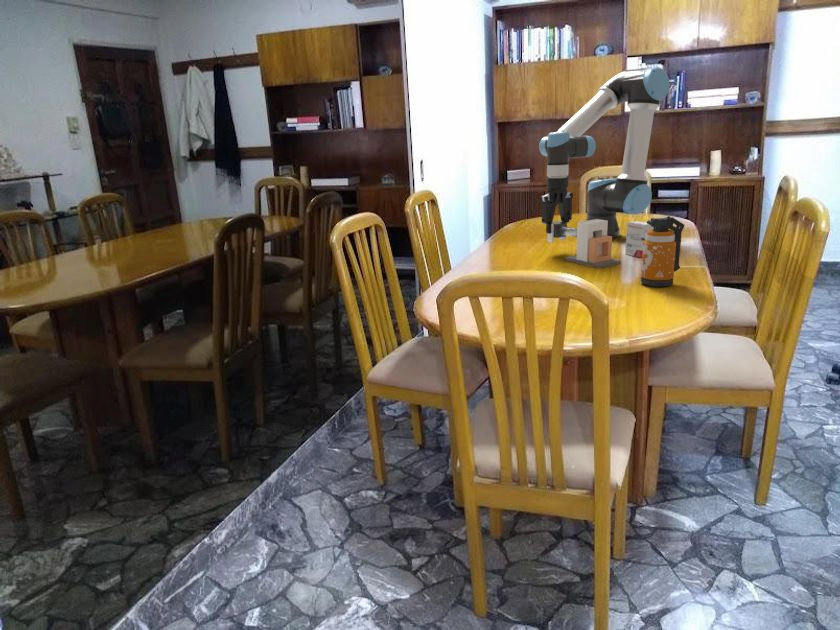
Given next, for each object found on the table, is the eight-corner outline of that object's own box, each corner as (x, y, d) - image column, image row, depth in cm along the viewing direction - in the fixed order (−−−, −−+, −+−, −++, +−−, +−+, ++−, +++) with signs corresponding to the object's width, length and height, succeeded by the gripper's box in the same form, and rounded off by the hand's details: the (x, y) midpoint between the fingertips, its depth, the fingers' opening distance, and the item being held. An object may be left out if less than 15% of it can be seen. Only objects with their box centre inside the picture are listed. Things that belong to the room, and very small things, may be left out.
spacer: (588, 261, 210) (589, 238, 207) (605, 258, 214) (606, 235, 211) (593, 263, 208) (594, 239, 205) (610, 259, 211) (612, 236, 209)
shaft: (546, 236, 228) (546, 222, 227) (557, 234, 230) (557, 221, 229) (586, 244, 211) (587, 229, 210) (597, 242, 213) (598, 227, 212)
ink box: (652, 256, 217) (655, 223, 214) (642, 258, 215) (644, 224, 212) (635, 252, 225) (636, 220, 221) (624, 254, 223) (626, 221, 219)
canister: (635, 281, 187) (639, 215, 181) (670, 279, 188) (676, 213, 182) (648, 289, 178) (653, 220, 172) (685, 286, 179) (691, 217, 173)
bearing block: (565, 260, 218) (566, 220, 214) (586, 255, 223) (587, 217, 219) (598, 268, 205) (600, 226, 201) (620, 263, 210) (622, 222, 205)
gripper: (569, 174, 228) (567, 236, 235) (531, 178, 220) (530, 242, 227) (583, 175, 222) (581, 239, 229) (545, 179, 213) (544, 245, 221)
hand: (556, 240), depth 228 cm, fingers closed on shaft, 5 cm apart
